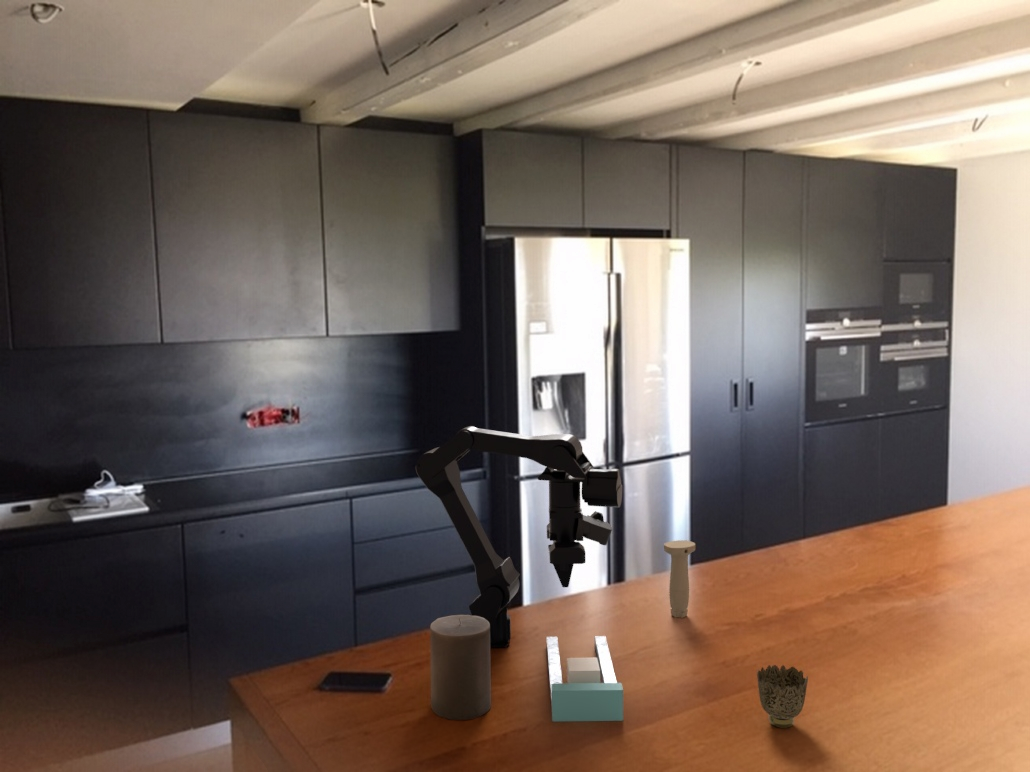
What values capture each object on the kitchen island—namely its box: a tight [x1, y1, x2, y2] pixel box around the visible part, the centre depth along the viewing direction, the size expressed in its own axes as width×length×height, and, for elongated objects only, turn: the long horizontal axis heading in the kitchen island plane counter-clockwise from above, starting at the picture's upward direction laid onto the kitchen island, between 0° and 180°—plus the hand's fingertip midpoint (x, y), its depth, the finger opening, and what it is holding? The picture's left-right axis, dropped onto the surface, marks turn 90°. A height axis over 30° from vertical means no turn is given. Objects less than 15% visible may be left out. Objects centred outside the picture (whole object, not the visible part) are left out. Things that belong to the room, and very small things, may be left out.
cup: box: [756, 664, 809, 729], centre depth 136 cm, size 8×7×8 cm
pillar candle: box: [429, 614, 492, 721], centre depth 143 cm, size 10×10×15 cm
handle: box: [663, 539, 696, 619], centre depth 180 cm, size 5×6×15 cm
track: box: [546, 635, 624, 722], centre depth 152 cm, size 11×28×5 cm, turn 0°
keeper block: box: [566, 656, 601, 683], centre depth 145 cm, size 5×5×6 cm
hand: (565, 586), depth 164 cm, fingers closed
